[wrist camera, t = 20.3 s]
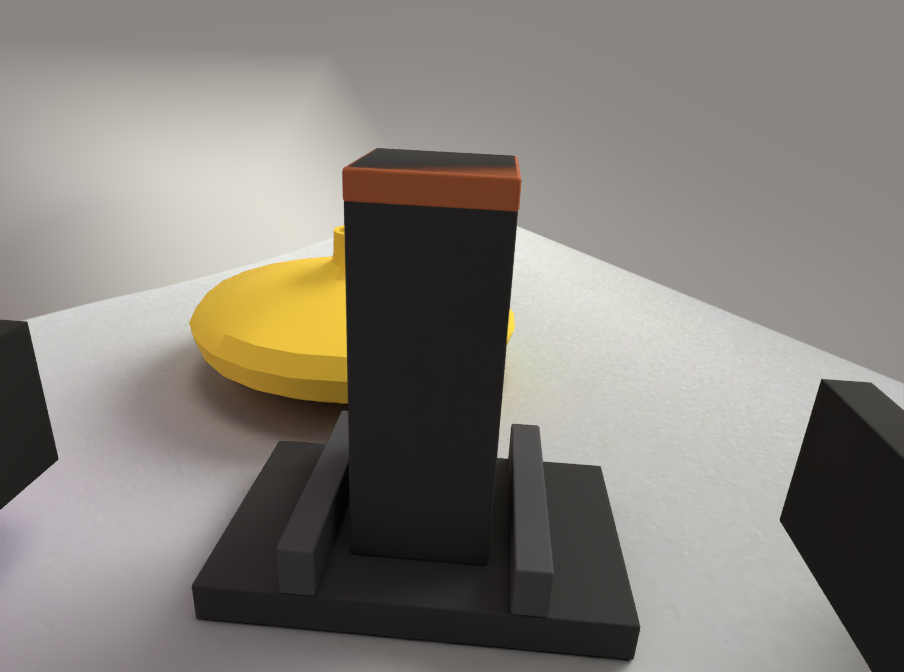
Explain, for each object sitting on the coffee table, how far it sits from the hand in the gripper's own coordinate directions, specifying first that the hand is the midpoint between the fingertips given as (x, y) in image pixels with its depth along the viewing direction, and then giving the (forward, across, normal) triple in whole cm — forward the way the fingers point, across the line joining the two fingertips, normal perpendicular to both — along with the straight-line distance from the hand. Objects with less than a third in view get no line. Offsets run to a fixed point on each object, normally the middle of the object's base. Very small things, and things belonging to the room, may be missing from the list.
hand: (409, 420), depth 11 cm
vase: (+20, -5, -9) cm, 23 cm away
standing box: (+7, 0, -8) cm, 10 cm away
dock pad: (+7, 0, -9) cm, 11 cm away
